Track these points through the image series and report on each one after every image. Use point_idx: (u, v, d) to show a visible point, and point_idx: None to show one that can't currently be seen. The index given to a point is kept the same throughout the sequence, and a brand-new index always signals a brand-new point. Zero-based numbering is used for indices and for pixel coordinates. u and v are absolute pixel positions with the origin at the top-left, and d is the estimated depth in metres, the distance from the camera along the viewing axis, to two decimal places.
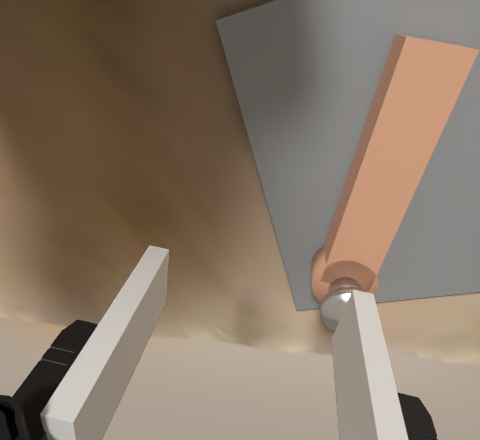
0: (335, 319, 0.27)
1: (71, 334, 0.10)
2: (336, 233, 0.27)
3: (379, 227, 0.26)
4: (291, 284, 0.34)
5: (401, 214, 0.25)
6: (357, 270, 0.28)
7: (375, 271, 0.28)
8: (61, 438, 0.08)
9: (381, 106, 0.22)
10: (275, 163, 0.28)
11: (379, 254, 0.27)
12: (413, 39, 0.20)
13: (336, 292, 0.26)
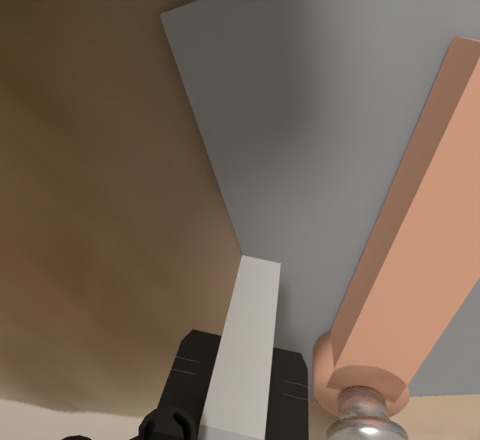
0: None
1: (191, 343, 0.11)
2: (350, 330, 0.18)
3: (415, 327, 0.17)
4: None
5: (451, 312, 0.17)
6: (379, 378, 0.20)
7: (406, 380, 0.19)
8: None
9: (431, 158, 0.13)
10: (260, 224, 0.19)
11: (413, 360, 0.19)
12: None
13: (351, 424, 0.18)
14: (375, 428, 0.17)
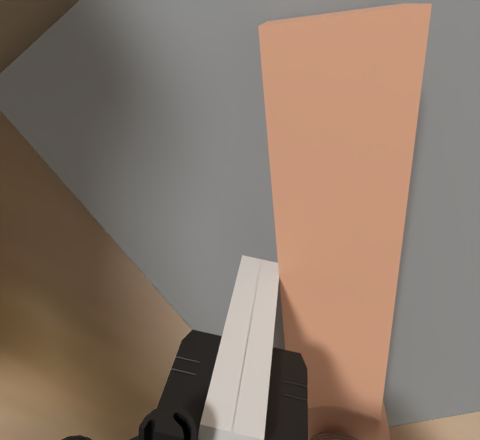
0: None
1: (191, 343, 0.11)
2: None
3: (354, 356, 0.14)
4: None
5: (386, 333, 0.14)
6: (345, 417, 0.17)
7: (375, 415, 0.16)
8: None
9: (270, 168, 0.11)
10: (171, 269, 0.18)
11: (371, 392, 0.15)
12: (275, 26, 0.09)
13: None
14: None
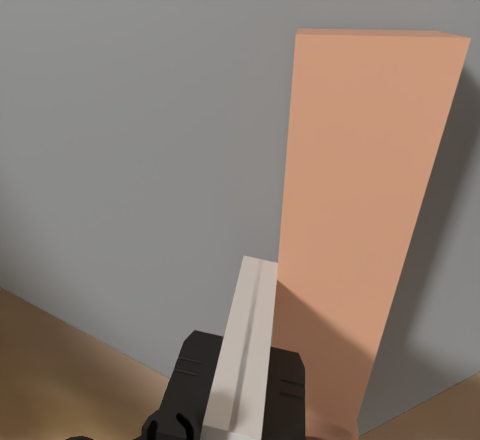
0: None
1: (193, 344, 0.11)
2: None
3: (338, 370, 0.15)
4: None
5: (372, 350, 0.14)
6: (318, 427, 0.17)
7: (349, 428, 0.16)
8: None
9: None
10: (119, 332, 0.20)
11: (348, 406, 0.16)
12: (312, 37, 0.09)
13: None
14: None
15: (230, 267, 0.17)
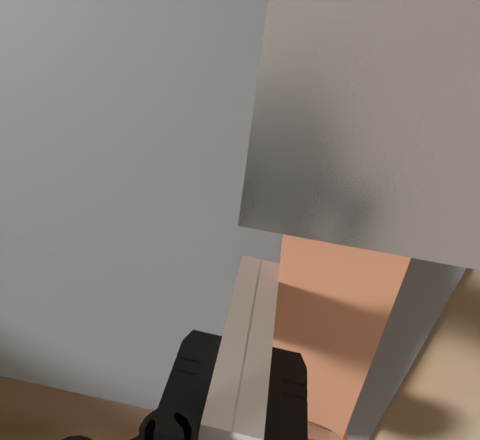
0: None
1: (191, 344, 0.11)
2: None
3: (332, 376, 0.15)
4: None
5: (367, 358, 0.14)
6: (309, 431, 0.17)
7: (339, 433, 0.17)
8: None
9: None
10: (123, 390, 0.23)
11: (340, 411, 0.16)
12: None
13: None
14: None
15: (160, 305, 0.19)
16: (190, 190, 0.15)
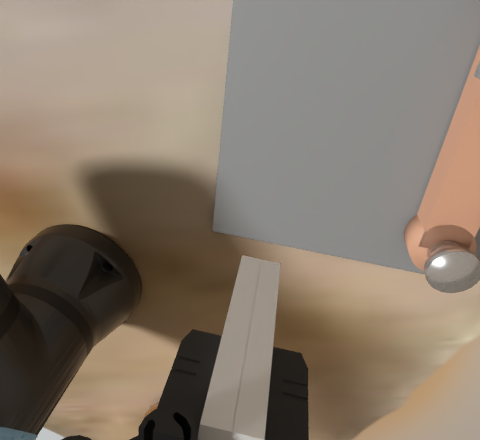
0: (452, 283, 0.29)
1: (191, 344, 0.11)
2: (435, 199, 0.29)
3: (479, 190, 0.28)
4: None
5: None
6: (455, 234, 0.30)
7: (473, 233, 0.30)
8: None
9: None
10: (314, 239, 0.37)
11: (478, 216, 0.29)
12: None
13: (425, 270, 0.30)
14: (431, 261, 0.29)
15: (362, 171, 0.32)
16: (404, 93, 0.29)
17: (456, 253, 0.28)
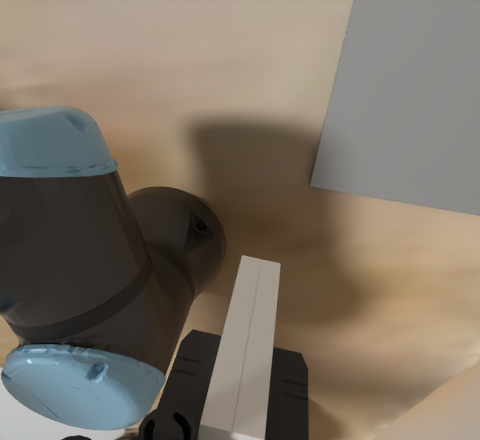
0: None
1: (191, 343, 0.11)
2: None
3: None
4: None
5: None
6: None
7: None
8: None
9: None
10: (413, 190, 0.38)
11: None
12: None
13: None
14: None
15: (472, 117, 0.34)
16: None
17: None
